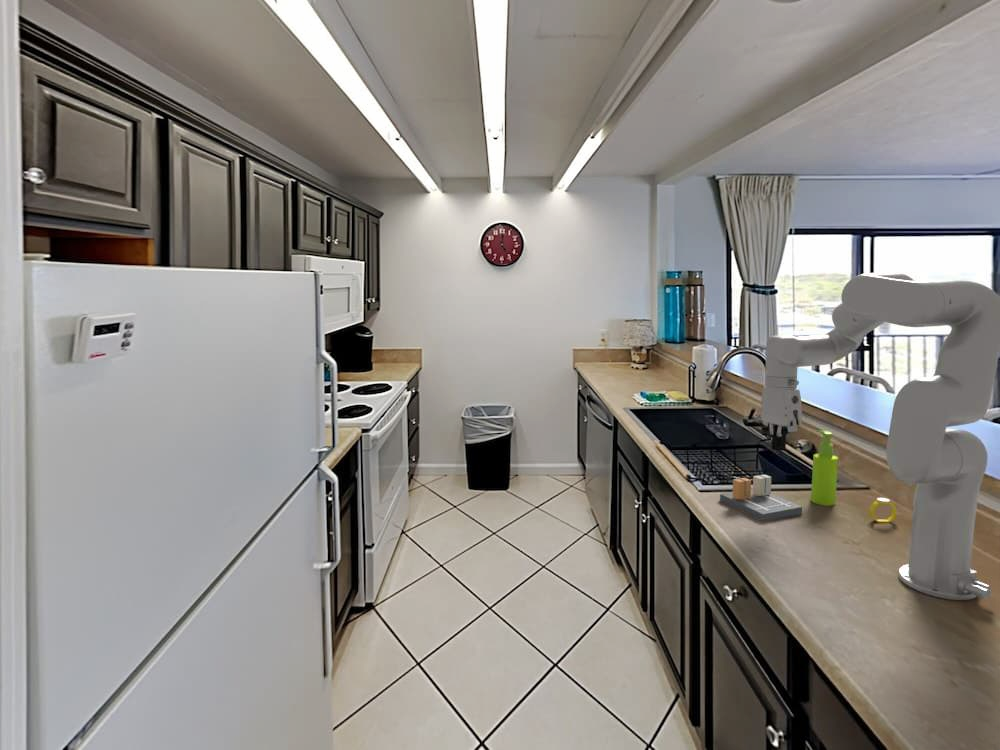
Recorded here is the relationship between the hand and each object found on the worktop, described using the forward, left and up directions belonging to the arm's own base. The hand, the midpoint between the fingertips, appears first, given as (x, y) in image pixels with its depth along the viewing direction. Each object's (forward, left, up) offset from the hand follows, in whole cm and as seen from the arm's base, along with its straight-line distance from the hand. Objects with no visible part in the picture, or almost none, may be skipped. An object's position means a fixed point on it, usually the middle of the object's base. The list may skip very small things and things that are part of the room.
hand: (778, 449), depth 149 cm
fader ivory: (+5, 0, -14) cm, 15 cm away
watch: (-17, -18, -17) cm, 29 cm away
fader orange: (+5, +7, -14) cm, 17 cm away
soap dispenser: (-1, -16, -17) cm, 23 cm away
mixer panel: (+2, +3, -17) cm, 17 cm away
